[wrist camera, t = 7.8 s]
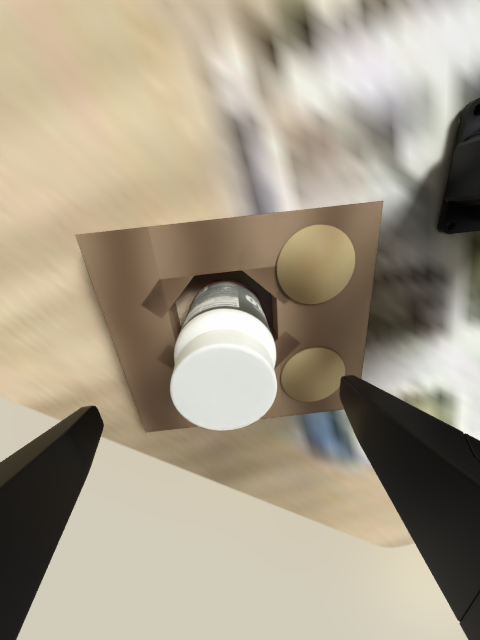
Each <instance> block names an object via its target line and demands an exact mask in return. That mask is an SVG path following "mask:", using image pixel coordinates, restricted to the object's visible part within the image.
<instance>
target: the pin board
mask: <svg viewBox="0 0 480 640" xmlns="http://www.w3.org/2000/svg"><path fill="white" fill-rule="evenodd" d="M382 208H383V201H378V202H369V203H359V204H350V205H341V206H332V207H323V208H314V209H305V210H296V211H287V212H278V213H269V214H260V215H251V216H242V217H233V218H224V219H215V220H206V221H197V222H187V223H178V224H169V225H160V226H151V227H142V228H133V229H124V230H115V231H106V232H97V233H88V234H79V235H75V236H76V239H77V242H78V244H79V247H80V250H81V253H82V256H83V258H84V261H85V264H86V267H87V270H88V272H89V275H90V278H91V281H92V284H93V286H94V289H95V292H96V295H97V298H98V300H99V303H100V306H101V309H102V312H103V314H104V317H105V320H106V323H107V326H108V328H109V331H110V334H111V337H112V340H113V342H114V345H115V348H116V351H117V354H118V356H119V359H120V362H121V365H122V368H123V370H124V373H125V376H126V379H127V382H128V384H129V387H130V390H131V393H132V396H133V398H134V401H135V404H136V407H137V410H138V412H139V415H140V418H141V421H142V424H143V426H144V429H145V432H154V431H162V430H171V429H179V428H188V427H196V426H197V425H195V424H193V423H191V422H190V421H188V420H187V419H186V418H184V417H183V416H182V415H181V414H180V413H179V411H178V410H177V409H176V407H175V405H174V404H173V401H172V398H171V393H170V382H171V377H172V374H173V370H174V366H175V362H174V349H175V345H176V341H177V338H178V336H179V333H180V331H181V326H180V322H179V317H178V313H177V308H176V304H175V301H176V299H177V298H178V297H179V295H180V294H181V293H182V291H183V290H184V289H185V287H186V286H187V285H188V283H189V282H190V281H191V279H192V278H193V277H194V275H203V274H212V273H221V272H230V271H239V270H242V271H243V272H245V273H246V274H247V275H248V276H250V277H251V278H252V279H253V280H255V281H256V282H257V283H258V284H260V285H261V286H262V287H263V288H264V289H266V290H267V291H268V292H269V293H271V298H272V318H273V326H272V327H271V328H270V330H271V334H272V336H273V339H274V342H275V346H276V363H275V367H274V371H275V375H276V380H277V392H276V397H275V399H274V402H273V404H272V406H271V407H270V408H269V410H268V411H267V412H266V414H265V415H263V416H262V417H261V418H260V419H265V418H273V417H282V416H290V415H299V414H307V413H316V412H324V411H333V410H341V409H344V407H343V405H342V402H341V400H340V396H339V392H340V380H341V377H342V376H346V375H354V376H356V377H358V378H360V379H361V376H362V368H363V360H364V352H365V344H366V336H367V328H368V320H369V312H370V304H371V296H372V288H373V280H374V272H375V264H376V256H377V248H378V240H379V232H380V224H381V216H382Z"/></svg>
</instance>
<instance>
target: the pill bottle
mask: <svg viewBox="0 0 480 640" xmlns="http://www.w3.org/2000/svg"><path fill="white" fill-rule="evenodd" d="M174 362H175V366H174V370H173V374H172V377H171V382H170V393H171V398H172V401H173V404H174V405H175V407H176V409H177V410H178V411H179V413H180V414H181V415H182V416H183V417H184V418H186V419H187V420H188V421H190V422H191V423H193V424H195V425H197V426H200V427H203V428H206V429H210V430H233V429H238V428H242V427H245V426H248V425H250V424H252V423H253V422H255V421H257V420H258V419H260V418H261V417H262V416H263V415H265V414H266V412H267V411H268V410H269V408H270V407H271V406H272V404H273V402H274V399H275V397H276V392H277V380H276V375H275V371H274V367H275V363H276V346H275V342H274V339H273V336H272V334H271V330H270V328H269V326H268V323H267V320H266V318H265V315H264V313H263V310H262V308H261V305H260V302H259V300H258V298H257V296H256V295H255V293H254V292H253V291H252V290H251V289H250V288H249V287H247V286H246V285H244V284H242V283H240V282H237V281H233V280H218V281H215V282H212V283H210V284H208V285H206V286H205V287H204V288H202V289H201V290H200V291H199V293H198V294H197V295H196V297H195V299H194V301H193V303H192V305H191V308H190V310H189V313H188V315H187V317H186V319H185V322H184V324H183V326H182V329H181V331H180V333H179V336H178V338H177V341H176V345H175V349H174Z"/></svg>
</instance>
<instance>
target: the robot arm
mask: <svg viewBox="0 0 480 640" xmlns="http://www.w3.org/2000/svg"><path fill="white" fill-rule="evenodd" d="M474 108H475V109H476V113H475V116H474V114H473V110H474ZM449 222H450V225H449V227H448V228H447V224H448V223H449ZM479 230H480V98H478V99H476V100H474V101H472V102H470V103H469V104H467V105H466V106H465V108H464V109H463V112H462V115H461V119H460V124H459V129H458V133H457V138H456V143H455V147H454V152H453V157H452V161H451V166H450V171H449V175H448V180H447V185H446V189H445V194H444V199H443V203H442V208H441V213H440V217H439V222H438V231H439V232H440V233H444V234H453V233H462V232H470V231H479ZM339 396H340V400H341V402H342V405H343V407H344V409H345V412H346V414H347V416H348V419H349V421H350V423H351V426H352V428H353V431H354V433H355V435H356V437H357V439H358V441H359V443H360V445H361V447H362V449H363V451H364V452H365V454H366V456H367V458H368V460H369V461H370V463H371V465H372V467H373V469H374V470H375V472H376V474H377V476H378V478H379V479H380V481H381V483H382V485H383V487H384V488H385V490H386V492H387V494H388V496H389V497H390V499H391V501H392V503H393V505H394V506H395V508H396V510H397V512H398V514H399V515H400V517H401V519H402V521H403V523H404V524H405V526H406V528H407V530H408V532H409V533H410V535H411V537H412V539H413V540H414V542H415V544H416V546H417V548H418V549H419V551H420V553H421V555H422V557H423V558H424V560H425V562H426V564H427V566H428V567H429V569H430V571H431V573H432V575H433V576H434V578H435V580H436V582H437V584H438V585H439V587H440V589H441V591H442V593H443V594H444V596H445V598H446V600H447V602H448V603H449V605H450V607H451V609H452V611H453V612H454V614H455V616H456V618H457V620H458V621H460V625H461V627H462V629H463V631H464V632H465V634H466V636H467V638H468V640H480V441H479V440H478V439H476V438H474V437H472V436H470V435H468V434H464V433H463V432H462V431H460V430H458V429H456V428H454V427H452V426H450V425H449V424H447V423H445V422H443V421H441V420H439V419H437V418H435V417H433V416H431V415H429V414H427V413H425V412H424V411H422V410H420V409H418V408H416V407H414V406H412V405H410V404H408V403H406V402H404V401H402V400H401V399H399V398H397V397H395V396H393V395H391V394H389V393H387V392H385V391H383V390H381V389H379V388H377V387H376V386H374V385H372V384H370V383H368V382H366V381H364V380H362V379H360V378H358V377H356V376H354V375H346V376H342V377H341V380H340V392H339ZM103 427H104V424H103V420H102V418H101V416H100V413H99V411H98V409H97V407H96V406H86V407H82V408H80V409H79V410H77V411H76V412H74V413H73V414H71V415H70V416H68V417H67V418H65V419H64V420H62V421H61V422H59V423H58V424H57V425H55V426H54V427H52V428H51V429H49V430H48V431H46V432H45V433H43V434H42V435H40V436H39V437H37V438H36V439H34V440H33V441H31V442H30V443H28V444H27V445H25V446H24V447H23V448H21V449H20V450H18V451H17V452H15V453H14V454H12V455H11V456H9V457H8V458H6V459H5V460H3V461H2V462H0V640H16V639H17V636H18V634H19V632H20V630H21V627H22V625H23V623H24V620H25V618H26V616H27V614H28V611H29V609H30V607H31V604H32V602H33V600H34V598H35V595H36V593H37V591H38V588H39V586H40V584H41V581H42V579H43V577H44V574H45V572H46V570H47V568H48V565H49V563H50V560H51V558H52V556H53V553H54V551H55V549H56V547H57V545H58V542H59V540H60V538H61V535H62V533H63V531H64V529H65V526H66V524H67V522H68V519H69V517H70V515H71V512H72V510H73V508H74V505H75V503H76V501H77V498H78V496H79V494H80V492H81V489H82V487H83V485H84V482H85V480H86V478H87V475H88V473H89V470H90V467H91V465H92V462H93V458H94V455H95V452H96V449H97V446H98V443H99V440H100V437H101V434H102V431H103Z"/></svg>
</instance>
